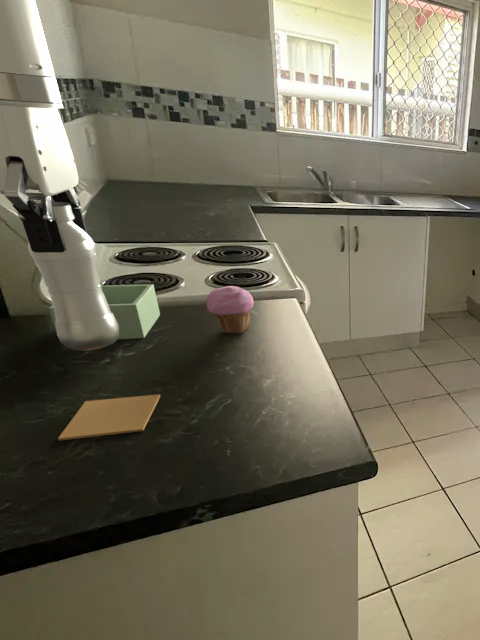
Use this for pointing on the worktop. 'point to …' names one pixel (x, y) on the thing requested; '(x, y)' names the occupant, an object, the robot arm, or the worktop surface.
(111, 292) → the bin
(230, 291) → the cupcake
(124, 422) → the mat
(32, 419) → the worktop surface
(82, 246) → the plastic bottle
